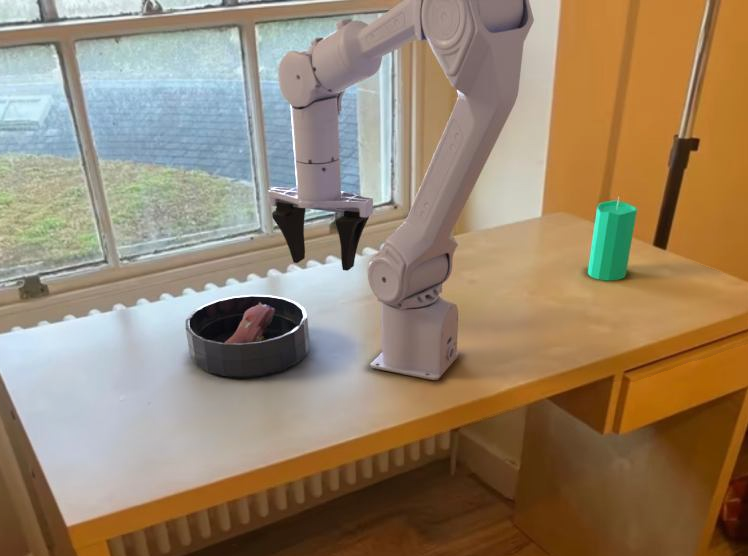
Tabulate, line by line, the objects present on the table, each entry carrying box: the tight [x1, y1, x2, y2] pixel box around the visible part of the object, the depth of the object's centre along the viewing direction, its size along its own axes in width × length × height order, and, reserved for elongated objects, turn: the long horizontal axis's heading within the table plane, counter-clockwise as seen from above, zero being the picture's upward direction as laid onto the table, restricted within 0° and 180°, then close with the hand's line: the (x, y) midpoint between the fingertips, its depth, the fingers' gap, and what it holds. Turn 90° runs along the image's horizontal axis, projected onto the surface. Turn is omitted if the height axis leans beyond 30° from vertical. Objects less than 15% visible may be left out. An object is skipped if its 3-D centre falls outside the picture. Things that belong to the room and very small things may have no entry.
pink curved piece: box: [225, 302, 275, 343], centre depth 107 cm, size 10×5×7 cm, turn 167°
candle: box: [587, 196, 638, 281], centre depth 126 cm, size 6×6×12 cm
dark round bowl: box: [185, 294, 311, 379], centre depth 108 cm, size 16×16×5 cm
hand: (323, 264), depth 109 cm, fingers open, 7 cm apart
